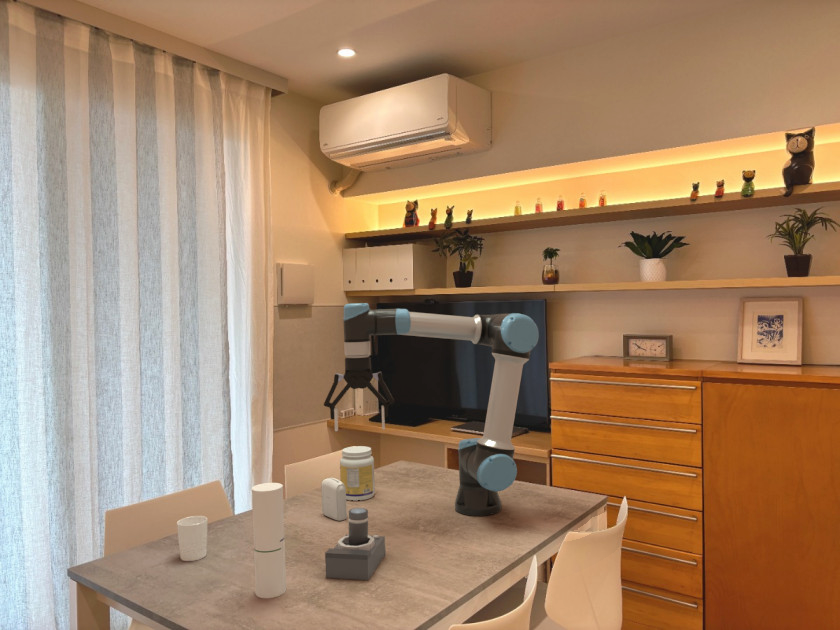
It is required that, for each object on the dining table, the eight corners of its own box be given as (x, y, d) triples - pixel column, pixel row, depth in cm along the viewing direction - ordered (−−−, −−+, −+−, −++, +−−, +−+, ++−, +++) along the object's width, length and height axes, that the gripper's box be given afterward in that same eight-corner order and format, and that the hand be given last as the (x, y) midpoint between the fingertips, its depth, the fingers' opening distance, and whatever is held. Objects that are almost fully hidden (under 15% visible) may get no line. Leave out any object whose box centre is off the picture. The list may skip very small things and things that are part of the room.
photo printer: (320, 514, 204) (319, 477, 203) (331, 511, 206) (330, 474, 206) (337, 522, 196) (335, 483, 195) (348, 519, 198) (347, 480, 198)
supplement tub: (345, 491, 229) (344, 445, 229) (378, 491, 227) (376, 445, 227) (336, 501, 217) (335, 453, 217) (371, 501, 215) (369, 453, 215)
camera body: (346, 552, 171) (345, 528, 171) (385, 554, 169) (384, 530, 168) (325, 577, 155) (325, 551, 155) (368, 580, 153) (367, 553, 153)
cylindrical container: (291, 586, 151) (288, 483, 150) (275, 600, 144) (272, 492, 144) (266, 583, 153) (262, 481, 153) (249, 596, 146) (245, 490, 146)
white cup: (180, 564, 166) (178, 527, 166) (176, 554, 173) (175, 519, 173) (210, 558, 170) (209, 521, 170) (206, 548, 177) (205, 513, 177)
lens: (359, 540, 166) (358, 506, 166) (372, 544, 163) (372, 510, 162) (344, 545, 162) (344, 510, 162) (357, 550, 159) (357, 515, 159)
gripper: (400, 354, 185) (402, 425, 185) (315, 356, 184) (318, 428, 184) (401, 355, 178) (403, 430, 178) (312, 359, 176) (315, 433, 176)
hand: (360, 429), depth 181 cm, fingers open, 13 cm apart
